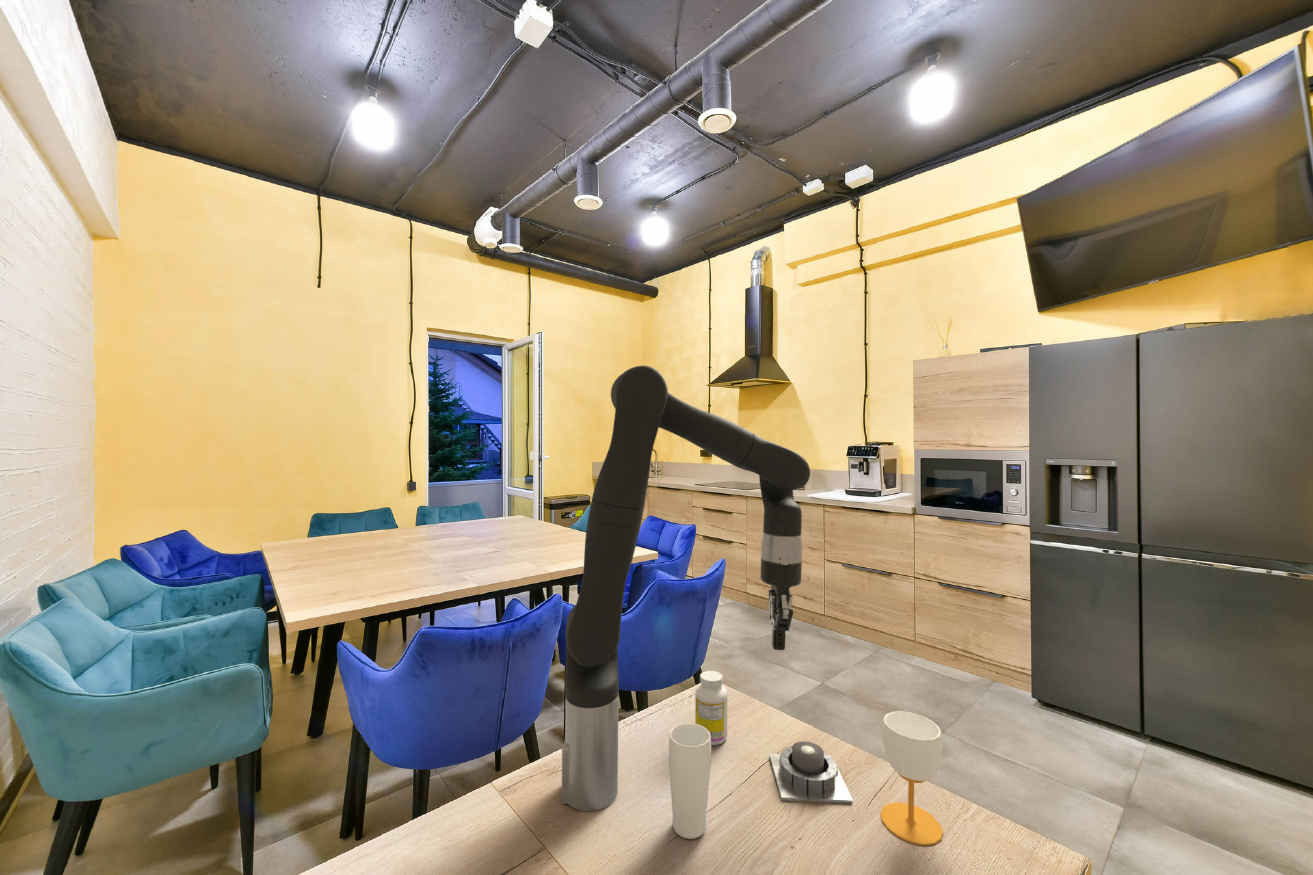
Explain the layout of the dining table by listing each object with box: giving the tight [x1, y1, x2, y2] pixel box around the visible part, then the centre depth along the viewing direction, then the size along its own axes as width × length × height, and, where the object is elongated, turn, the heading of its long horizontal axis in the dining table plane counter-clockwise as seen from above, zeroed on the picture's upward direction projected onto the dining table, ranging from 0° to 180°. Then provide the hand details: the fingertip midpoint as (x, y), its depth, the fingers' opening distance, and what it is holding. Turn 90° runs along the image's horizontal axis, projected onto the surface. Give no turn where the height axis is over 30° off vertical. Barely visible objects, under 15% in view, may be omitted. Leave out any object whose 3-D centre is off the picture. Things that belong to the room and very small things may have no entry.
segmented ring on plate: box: [768, 745, 853, 805], centre depth 93 cm, size 12×12×3 cm
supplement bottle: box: [694, 670, 728, 746], centre depth 106 cm, size 7×7×13 cm
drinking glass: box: [668, 722, 712, 840], centre depth 81 cm, size 7×7×15 cm
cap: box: [792, 740, 825, 775], centre depth 93 cm, size 6×6×5 cm
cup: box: [879, 710, 944, 846], centre depth 82 cm, size 9×9×16 cm
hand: (778, 648), depth 96 cm, fingers closed
